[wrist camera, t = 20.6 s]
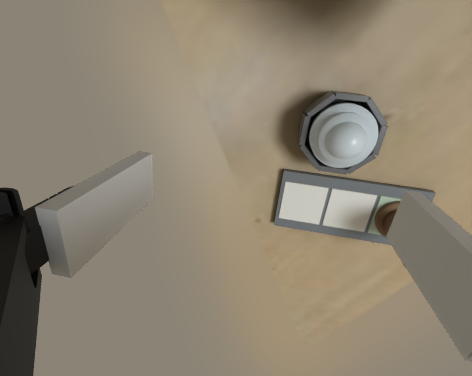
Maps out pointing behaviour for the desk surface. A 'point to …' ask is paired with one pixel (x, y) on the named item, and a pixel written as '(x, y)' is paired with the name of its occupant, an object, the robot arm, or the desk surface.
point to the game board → (335, 204)
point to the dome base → (329, 100)
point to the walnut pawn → (386, 217)
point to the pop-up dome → (343, 134)
